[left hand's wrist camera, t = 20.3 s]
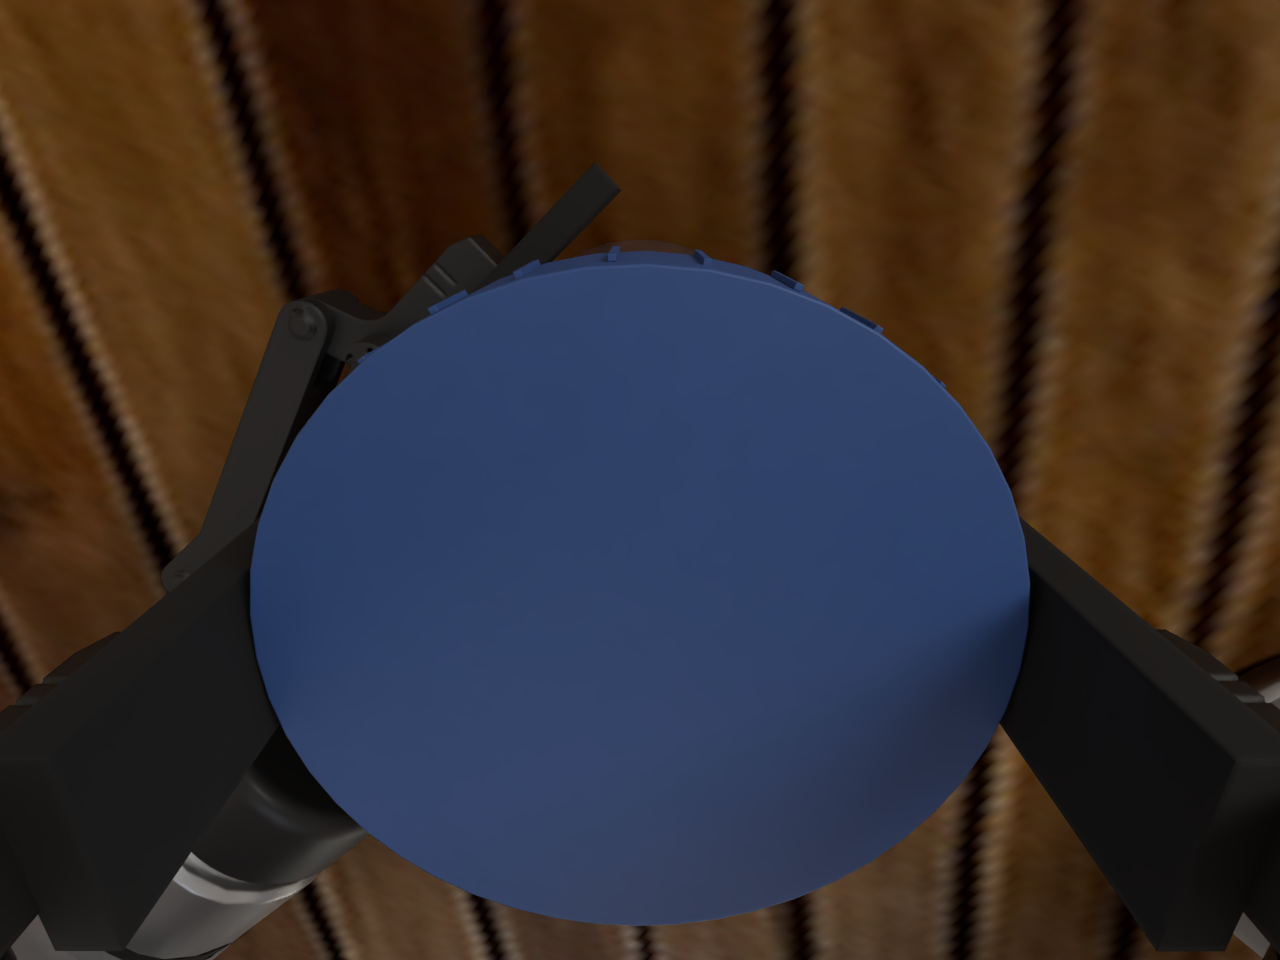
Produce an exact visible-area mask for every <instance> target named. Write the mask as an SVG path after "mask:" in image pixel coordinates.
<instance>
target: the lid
mask: <svg viewBox="0 0 1280 960" xmlns="http://www.w3.org/2000/svg"><path fill="white" fill-rule="evenodd" d="M803 287H804V285H802V284H800V283H798V282H796V281H794V280H793V279H791V278H789V277H787V276H785V275H783V274H781V273H779V272H776V271H774V270H773V271H772V273H771V276H769V275H766V274H764V273H761V272H758V271H756V270H753V269H751V268H748V267H745V266H741V265H737V264H732V263H728V262H724V261H719V260H715V259H711V258H710V257H709V256H707V255H706V254H705V253H704V252H702V251H701V250H694V255H688V254H676V253H665V252H654V251H634V252H620V247H619V246H613V247H612V248H611V250H610V251H609V253H596V254H591V255H585V256H580V257H575V258H570V259H564V260H559V261H554V262H549V263H545V264H542V265H540V262H539V260H535V261H532V262H530V263H528V264H526V265H525V266H523V267H521V268H519V269H517V270H516V271H514V272H513V275H510V276H507V277H504V278H501V279H499V280H497V281H495V282H493V283H491V284H489V285H487V286H485V287H483V288H481V289H479V290H477V291H475V292H473V293H471V294H469V295H468V294H467V292H466V291H465V290H463V291H461V292H459V293H457V294H455V295H453V296H451V297H449V298H447V299H445V300H443V301H441V302H439V303H437V304H435V305H433V306H431V307H430V308H428V311H429V312H430V314H431V315H430V316H428V317H426V318H424V319H422V320H420V321H419V322H417V323H415V324H413V325H412V326H410V327H409V328H407V329H406V330H405V331H403V332H402V333H400V334H399V335H398V336H396V337H395V338H393V339H392V340H390V341H389V342H387V343H386V344H384V345H382V346H380V347H378V348H377V349H375V350H373V351H371V352H369V353H368V354H366V355H364V356H362V357H361V358H360V359H359V360H358V363H359V365H358V366H357V367H356V368H355V369H354V370H353V371H352V372H351V373H350V374H349V375H348V376H347V377H346V378H345V379H344V380H343V381H342V382H341V383H340V384H339V385H338V386H336V387H335V388H334V389H333V390H332V391H331V392H330V393H329V394H328V395H327V397H326V398H325V399H324V401H323V402H322V403H321V405H320V406H319V407H318V409H317V410H316V411H315V412H314V414H313V415H312V416H311V418H310V419H309V420H308V421H307V423H306V424H305V426H304V427H303V428H302V430H301V431H300V432H299V433H298V435H297V436H296V438H295V440H294V442H293V444H292V446H291V447H290V449H289V451H288V453H287V455H286V457H285V459H284V461H283V462H282V464H281V466H280V468H279V470H278V472H277V474H276V476H275V477H274V479H273V482H272V485H271V488H270V491H269V494H268V497H267V500H266V503H265V505H264V508H263V511H262V514H261V517H260V520H259V523H258V527H257V533H256V539H255V545H254V551H253V557H252V563H251V569H250V620H251V626H252V633H253V640H254V646H255V653H256V659H257V662H258V665H259V669H260V672H261V675H262V678H263V682H264V685H265V688H266V691H267V695H268V698H269V700H270V702H271V704H272V707H273V709H274V711H275V713H276V715H277V717H278V719H279V721H280V724H281V726H282V728H283V730H284V732H285V734H286V736H287V738H288V739H289V741H290V742H291V744H292V746H293V747H294V749H295V750H296V752H297V753H298V755H299V756H300V758H301V759H302V761H303V763H304V764H305V766H306V767H307V769H308V770H309V772H310V773H311V774H312V775H313V776H314V778H315V779H316V780H317V781H318V782H319V784H320V785H321V786H322V787H323V788H324V789H325V791H326V792H327V793H328V794H329V795H330V797H331V798H332V799H333V800H334V801H335V802H336V803H337V804H338V805H339V806H340V807H341V808H342V809H343V810H344V811H345V812H346V813H347V814H348V815H349V816H350V817H352V818H353V819H354V820H355V821H356V822H357V823H358V824H359V825H360V826H361V827H362V828H363V829H364V830H365V831H367V832H368V833H369V834H371V835H372V836H373V837H375V838H376V839H377V840H379V841H380V842H381V843H383V844H384V845H386V846H387V847H388V848H390V849H391V850H392V851H394V852H395V853H396V854H398V855H399V856H401V857H402V858H404V859H406V860H407V861H409V862H411V863H413V864H414V865H416V866H418V867H419V868H421V869H423V870H424V871H426V872H428V873H430V874H431V875H433V876H435V877H437V878H439V879H441V880H443V881H445V882H448V883H450V884H452V885H454V886H456V887H458V888H461V889H463V890H465V891H467V892H469V893H472V894H474V895H477V896H480V897H483V898H486V899H489V900H491V901H494V902H497V903H500V904H503V905H506V906H509V907H512V908H516V909H520V910H524V911H528V912H532V913H536V914H540V915H544V916H549V917H553V918H560V919H567V920H573V921H580V922H587V923H595V924H612V925H630V926H642V925H672V924H683V923H691V922H699V921H707V920H715V919H720V918H725V917H730V916H734V915H739V914H743V913H748V912H753V911H757V910H760V909H763V908H767V907H770V906H773V905H776V904H779V903H782V902H785V901H789V900H792V899H795V898H798V897H800V896H802V895H805V894H807V893H809V892H812V891H814V890H816V889H819V888H821V887H823V886H826V885H828V884H830V883H833V882H835V881H837V880H839V879H840V878H842V877H844V876H846V875H848V874H849V873H851V872H853V871H855V870H857V869H859V868H860V867H862V866H864V865H866V864H868V863H869V862H871V861H873V860H874V859H875V858H877V857H878V856H880V855H881V854H883V853H884V852H885V851H887V850H888V849H890V848H891V847H893V846H894V845H895V844H897V843H898V842H900V841H901V840H903V839H904V838H905V837H906V836H908V835H909V834H910V833H911V832H912V831H913V830H914V829H916V828H917V827H918V826H919V825H920V824H921V823H922V822H924V821H925V820H926V819H927V818H928V817H929V816H930V815H932V814H933V813H934V812H935V811H936V810H937V809H938V808H939V807H940V806H941V804H942V803H943V802H944V801H945V800H946V799H947V798H948V797H949V796H950V795H951V793H952V792H953V791H954V790H955V789H956V788H957V787H958V786H959V785H960V783H961V782H962V781H963V780H964V779H965V777H966V776H967V774H968V773H969V771H970V770H971V769H972V767H973V766H974V764H975V763H976V761H977V760H978V759H979V757H980V756H981V754H982V753H983V751H984V750H985V749H986V747H987V746H988V744H989V742H990V740H991V738H992V736H993V734H994V732H995V730H996V728H997V726H998V724H999V722H1000V720H1001V719H1002V717H1003V715H1004V713H1005V711H1006V709H1007V706H1008V703H1009V700H1010V697H1011V695H1012V692H1013V689H1014V686H1015V683H1016V680H1017V677H1018V675H1019V672H1020V669H1021V663H1022V658H1023V653H1024V648H1025V643H1026V637H1027V632H1028V627H1029V599H1030V579H1029V570H1028V562H1027V554H1026V546H1025V538H1024V534H1023V531H1022V527H1021V524H1020V521H1019V517H1018V514H1017V510H1016V507H1015V504H1014V500H1013V497H1012V493H1011V491H1010V489H1009V486H1008V484H1007V482H1006V480H1005V478H1004V476H1003V474H1002V472H1001V470H1000V468H999V466H998V464H997V461H996V459H995V457H994V455H993V453H992V451H991V449H990V447H989V446H988V444H987V443H986V441H985V440H984V438H983V437H982V436H981V434H980V433H979V431H978V430H977V428H976V427H975V425H974V424H973V423H972V421H971V420H970V418H969V417H968V415H967V414H966V413H965V411H964V410H963V408H962V407H961V405H960V404H959V403H958V402H957V401H956V400H955V399H954V398H953V397H952V396H951V395H950V394H949V393H948V392H947V391H946V390H945V389H944V388H946V386H945V385H944V383H943V382H942V381H940V380H938V379H937V378H935V377H933V376H932V375H931V374H930V373H929V372H928V371H927V370H926V369H925V368H924V367H923V366H922V365H921V364H919V363H918V362H917V361H915V360H914V359H913V358H912V357H910V356H909V355H908V354H906V353H905V352H904V351H902V350H901V349H900V348H899V347H897V346H896V345H895V344H893V343H892V342H891V341H889V340H888V339H887V338H885V337H884V336H883V335H882V334H880V333H881V332H882V331H883V328H881V327H880V326H878V325H877V324H875V323H873V322H871V321H869V320H867V319H865V318H863V317H861V316H859V315H857V314H855V313H853V312H851V311H850V310H848V309H846V308H844V307H842V308H841V309H840V310H838V309H836V308H834V307H832V306H830V305H829V304H827V303H825V302H823V301H821V300H820V299H818V298H816V297H814V296H812V295H810V294H809V293H807V292H805V291H803V290H802V289H803Z"/></svg>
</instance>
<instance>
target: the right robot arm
mask: <svg viewBox="0 0 1280 960" xmlns="http://www.w3.org/2000/svg"><path fill="white" fill-rule="evenodd" d="M620 191H621V189H620V188H619V187H618V186H617V185H616V184H615V183H614V182H613V180H612V179H611V178H610V177H609V176H608V175H607V174H606V172H605V171H604V170H603V169H602V168H601V167H600V166H599V165H598V164H597V163H596V162H595V163H594V164H593V165H592V166H591V167H590V168H589V169H588V170H587V171H586V172H585V173H584V174H583V175H582V176H581V178H580V179H579V180H578V181H577V182H576V183H575V184H574V185H573V186H572V187H571V188H570V189H569V190H568V191H567V192H566V193H565V194H564V196H563V197H562V198H561V199H560V200H559V201H558V202H557V203H556V204H555V205H554V206H553V207H552V208H551V209H550V210H549V211H548V212H547V214H546V215H545V216H544V217H543V218H542V219H541V220H540V221H539V222H538V223H537V224H536V225H535V226H534V227H533V228H532V229H531V230H530V232H529V233H528V234H527V235H526V236H525V237H524V238H523V239H522V240H521V241H520V242H519V243H518V244H517V245H516V246H515V247H514V248H513V250H512V251H511V252H510V253H509V254H508V255H507V256H506V257H505V258H504V257H503V256H502V254H501V253H500V252H499V251H498V250H497V249H496V248H495V247H494V246H493V245H492V244H491V243H490V242H489V241H488V240H487V239H486V238H485V237H484V236H483V235H482V234H481V235H477V236H472V237H468V238H466V239H464V240H461V241H459V242H457V243H455V244H452V245H450V246H449V247H448V248H447V249H446V250H445V251H444V253H443V254H442V255H441V256H440V257H439V258H438V259H437V260H436V262H435V263H434V264H433V265H432V266H431V267H430V268H429V269H428V270H427V271H426V272H425V274H424V275H423V276H422V277H421V278H420V279H419V280H418V281H417V282H416V283H415V284H414V285H413V287H412V288H411V289H410V290H409V291H408V292H407V293H406V294H405V295H404V296H403V298H402V299H401V300H400V301H399V302H398V303H397V304H396V305H395V306H394V307H393V309H392V310H391V311H390V312H389V313H388V312H380V311H377V310H374V309H372V308H370V307H368V306H366V305H364V304H362V303H360V302H359V301H358V299H357V298H356V297H355V296H354V295H353V294H351V293H350V292H348V291H345V290H342V289H336V290H330V291H326V292H323V293H319V294H316V295H312V296H309V297H305V298H302V299H298V300H295V301H291V302H290V303H288V304H286V305H284V306H283V308H282V309H281V311H280V313H279V315H278V317H277V320H276V323H275V326H274V329H273V331H272V334H271V337H270V340H269V343H268V345H267V348H266V351H265V354H264V356H263V359H262V362H261V365H260V368H259V370H258V373H257V376H256V379H255V382H254V384H253V387H252V390H251V393H250V396H249V398H248V401H247V404H246V407H245V409H244V412H243V415H242V418H241V421H240V423H239V426H238V429H237V432H236V435H235V437H234V440H233V443H232V446H231V449H230V451H229V454H228V457H227V460H226V462H225V465H224V468H223V471H222V474H221V476H220V479H219V482H218V485H217V488H216V490H215V493H214V496H213V499H212V501H211V504H210V507H209V510H208V513H207V515H206V518H205V521H204V524H203V527H202V529H201V532H200V534H199V535H198V536H197V537H195V538H194V539H193V540H192V541H191V542H190V543H189V544H188V545H187V546H186V547H185V548H184V549H183V550H182V551H181V552H180V553H179V554H178V555H177V556H176V557H175V558H174V559H173V560H172V561H171V562H170V563H169V564H168V565H167V566H166V567H165V568H164V570H163V571H162V573H161V581H162V583H163V585H164V587H165V588H166V589H167V591H168V592H171V591H172V590H173V589H174V588H175V587H177V586H178V585H179V584H180V583H181V582H183V581H184V580H185V579H186V578H187V577H189V576H190V575H191V574H192V573H193V572H195V571H196V570H197V569H198V568H199V567H201V566H202V565H203V564H204V563H205V562H207V561H208V560H209V559H210V558H211V557H213V556H214V555H215V554H216V553H218V552H219V551H220V550H221V549H222V548H224V547H225V546H226V545H227V544H228V543H230V542H231V541H232V540H233V539H234V538H236V537H237V536H238V535H239V534H240V533H242V532H243V531H244V530H245V529H246V528H248V527H249V526H250V525H251V524H252V523H254V522H255V521H256V520H257V519H258V518H260V517H261V514H262V511H263V508H264V505H265V503H266V500H267V497H268V494H269V491H270V488H271V485H272V482H273V479H274V477H275V476H276V474H277V472H278V470H279V468H280V466H281V464H282V462H283V461H284V459H285V457H286V455H287V453H288V451H289V449H290V447H291V446H292V444H293V442H294V440H295V438H296V436H297V435H298V433H299V432H300V431H301V430H302V428H303V427H304V426H305V424H306V423H307V421H308V420H309V419H310V418H311V416H312V415H313V414H314V412H315V411H316V410H317V409H318V407H319V406H320V405H321V403H322V402H323V401H324V399H325V398H326V397H327V395H328V394H329V393H330V392H331V391H332V390H333V389H334V388H335V387H336V385H337V382H338V380H339V377H340V375H341V372H342V370H343V367H344V365H345V362H346V363H348V364H350V365H351V368H350V373H351V372H352V371H353V370H354V369H355V368H356V367H357V366H358V365H359V363H358V360H359V359H360V358H361V357H362V356H364V355H366V354H368V353H369V352H371V351H373V350H375V349H377V348H378V347H380V346H382V345H384V344H386V343H387V342H389V341H390V340H392V339H393V338H395V337H396V336H398V335H399V334H400V333H402V332H403V331H405V330H406V329H407V328H409V327H410V326H412V325H413V324H415V323H417V322H419V321H420V320H422V319H424V318H426V317H428V316H430V315H431V314H430V312H429V311H428V308H430V307H431V306H433V305H435V304H437V303H439V302H441V301H443V300H445V299H447V298H449V297H451V296H453V295H455V294H457V293H459V292H461V291H463V290H465V291H466V292H467V294H468V295H469V294H471V293H473V292H475V291H477V290H479V289H481V288H483V287H485V286H487V285H489V284H491V283H493V282H495V281H497V280H499V279H501V278H504V277H507V276H510V275H513V272H514V271H516V270H517V269H519V268H521V267H523V266H525V265H526V264H528V263H530V262H532V261H535V260H539V262H540V265H542V264H545V263H549V262H552V261H553V260H554V259H555V258H556V257H557V256H558V255H559V254H560V253H561V252H562V251H563V250H564V249H565V248H566V247H567V246H568V245H569V244H570V243H571V242H572V241H573V240H574V238H575V237H576V236H577V235H578V234H579V233H580V232H581V231H582V230H583V229H584V228H585V227H586V226H587V225H588V224H589V223H590V222H591V221H592V220H593V219H594V218H595V217H596V216H597V215H598V214H599V213H600V212H601V211H602V210H603V209H604V208H605V207H606V206H607V204H608V203H609V202H610V201H611V200H612V199H613V198H614V197H615V196H616V195H617V194H618V193H619V192H620ZM368 835H369V833H368V832H367V831H365V830H364V829H363V828H362V827H361V826H360V825H359V824H358V823H357V822H356V821H355V820H354V819H353V818H352V817H350V816H349V815H348V814H347V813H346V812H345V811H344V810H343V809H342V808H341V807H340V806H339V805H338V804H337V803H336V802H335V801H334V800H333V799H332V798H331V797H330V795H329V794H328V793H327V792H326V791H325V789H324V788H323V787H322V786H321V785H320V784H319V782H318V781H317V780H316V779H315V778H314V776H313V775H312V774H311V773H310V772H309V770H308V769H307V767H306V766H305V764H304V763H303V761H302V759H301V758H300V756H299V755H298V753H297V752H296V750H295V749H294V747H293V746H292V744H291V742H290V741H289V739H288V738H287V736H286V734H285V732H284V730H283V728H282V726H281V724H279V726H278V727H277V729H276V730H275V732H274V733H273V735H272V736H271V737H270V739H269V740H268V742H267V743H266V745H265V746H264V748H263V749H262V751H261V752H260V753H259V755H258V756H257V758H256V759H255V761H254V762H253V764H252V765H251V766H250V768H249V769H248V771H247V772H246V774H245V775H244V777H243V778H242V780H241V781H240V782H239V784H238V785H237V787H236V788H235V790H234V791H233V793H232V794H231V795H230V797H229V798H228V800H227V801H226V803H225V804H224V806H223V807H222V809H221V810H220V811H219V813H218V814H217V816H216V817H215V819H214V820H213V822H212V823H211V824H210V826H209V827H208V829H207V830H206V832H205V833H204V835H203V836H202V838H201V839H200V840H199V842H198V843H197V845H196V846H195V848H194V849H193V851H192V852H191V853H190V855H189V856H188V858H187V859H186V861H185V862H184V864H183V865H182V867H181V868H180V869H179V871H178V872H177V874H176V875H175V877H174V878H173V880H172V881H171V882H170V884H169V885H168V887H167V888H166V890H165V891H164V893H163V894H162V896H161V897H160V898H159V900H158V901H157V903H156V904H155V906H154V907H153V909H152V910H151V911H150V913H149V914H148V916H147V917H146V919H145V920H144V922H143V923H142V925H141V926H140V927H139V929H138V930H137V932H136V933H135V935H134V936H133V938H132V939H131V941H130V942H129V943H128V945H127V946H126V948H125V949H124V951H55V950H54V947H53V945H52V943H51V941H50V939H49V937H48V935H47V933H46V930H45V928H44V926H43V924H42V922H41V920H40V918H39V916H38V915H37V916H36V918H35V919H34V920H33V921H32V922H31V923H30V925H29V926H28V927H27V928H26V929H25V931H24V932H23V933H22V934H21V935H20V936H19V938H18V939H17V940H16V941H15V942H14V944H13V945H12V946H11V947H12V949H13V951H14V953H15V955H16V957H17V960H213V959H214V958H216V957H217V956H218V955H219V954H220V953H221V952H223V951H224V950H225V949H226V948H227V947H229V946H230V945H231V944H232V943H233V942H235V941H236V940H237V939H238V938H240V937H241V936H242V935H244V934H245V933H246V932H247V931H249V930H250V929H251V928H252V927H254V926H255V925H256V924H257V923H258V922H259V921H261V920H262V919H263V918H265V917H266V916H267V915H269V914H270V913H271V912H273V911H274V910H275V909H277V908H278V907H279V906H281V905H282V904H283V903H284V902H286V901H287V900H288V899H290V898H291V897H292V896H294V895H295V894H296V893H298V892H299V891H300V890H302V889H303V888H304V887H306V886H307V885H308V884H309V883H311V882H312V881H313V880H314V879H315V878H316V877H317V876H318V875H319V874H320V873H321V872H322V871H323V870H324V869H326V868H327V867H329V866H331V865H332V864H333V863H334V862H336V861H337V860H338V859H339V858H341V857H342V856H343V855H344V854H346V853H347V852H348V851H349V850H351V849H352V848H353V847H354V846H356V845H357V844H358V843H359V842H360V841H362V840H363V839H364V838H365V837H367V836H368Z"/></svg>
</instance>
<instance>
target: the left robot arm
mask: <svg viewBox="0 0 1280 960" xmlns="http://www.w3.org/2000/svg"><path fill="white" fill-rule="evenodd" d="M1018 517H1019V516H1018ZM259 520H260V518H258V519H257V520H256V521H255V522H254V523H252V524H251V525H250V526H249V527H248V528H246V529H245V530H244V531H243V532H242V533H240V534H239V535H238V536H237V537H236V538H234V539H233V540H232V541H231V542H230V543H228V544H227V545H226V546H225V547H224V548H222V549H221V550H220V551H219V552H218V553H216V554H215V555H214V556H213V557H211V558H210V559H209V560H208V561H207V562H205V563H204V564H203V565H202V566H201V567H199V568H198V569H197V570H196V571H195V572H193V573H192V574H191V575H190V576H189V577H187V578H186V579H185V580H184V581H183V582H181V583H180V584H179V585H178V586H177V587H175V588H174V589H173V590H172V591H171V592H169V593H168V594H167V595H166V596H165V597H163V598H162V599H161V600H160V601H158V602H157V603H156V604H155V605H154V606H152V607H151V608H150V609H149V610H148V611H146V612H145V613H144V614H143V615H142V616H140V617H139V618H138V619H137V620H136V621H134V622H133V623H132V624H131V625H130V626H128V627H127V628H126V629H125V630H124V631H122V632H115V633H113V634H111V635H109V636H107V637H105V638H103V639H101V640H99V641H97V642H95V643H94V644H92V645H90V646H88V647H86V648H84V649H82V650H80V651H78V652H76V653H75V654H73V655H72V656H71V657H70V658H68V659H67V660H66V661H65V662H63V663H62V664H61V665H60V666H58V667H57V668H56V669H55V670H53V671H52V672H51V673H50V674H48V675H47V676H46V677H45V678H43V683H42V684H36V685H35V686H33V687H32V688H31V689H29V690H28V691H27V692H26V693H24V694H23V695H22V696H21V697H19V698H18V699H17V700H16V701H17V702H16V705H15V706H8V707H7V708H6V709H4V710H3V711H2V712H1V713H0V960H17V957H16V955H15V953H14V951H13V949H12V947H11V946H12V945H13V944H14V942H15V941H16V940H17V939H18V938H19V936H20V935H21V934H22V933H23V932H24V931H25V929H26V928H27V927H28V926H29V925H30V923H31V922H32V921H33V920H34V919H35V918H36V916H37V915H38V916H39V918H40V920H41V922H42V924H43V926H44V928H45V930H46V933H47V935H48V937H49V939H50V941H51V943H52V945H53V947H54V950H55V951H124V949H125V948H126V946H127V945H128V943H129V942H130V941H131V939H132V938H133V936H134V935H135V933H136V932H137V930H138V929H139V927H140V926H141V925H142V923H143V922H144V920H145V919H146V917H147V916H148V914H149V913H150V911H151V910H152V909H153V907H154V906H155V904H156V903H157V901H158V900H159V898H160V897H161V896H162V894H163V893H164V891H165V890H166V888H167V887H168V885H169V884H170V882H171V881H172V880H173V878H174V877H175V875H176V874H177V872H178V871H179V869H180V868H181V867H182V865H183V864H184V862H185V861H186V859H187V858H188V856H189V855H190V853H191V852H192V851H193V849H194V848H195V846H196V845H197V843H198V842H199V840H200V839H201V838H202V836H203V835H204V833H205V832H206V830H207V829H208V827H209V826H210V824H211V823H212V822H213V820H214V819H215V817H216V816H217V814H218V813H219V811H220V810H221V809H222V807H223V806H224V804H225V803H226V801H227V800H228V798H229V797H230V795H231V794H232V793H233V791H234V790H235V788H236V787H237V785H238V784H239V782H240V781H241V780H242V778H243V777H244V775H245V774H246V772H247V771H248V769H249V768H250V766H251V765H252V764H253V762H254V761H255V759H256V758H257V756H258V755H259V753H260V752H261V751H262V749H263V748H264V746H265V745H266V743H267V742H268V740H269V739H270V737H271V736H272V735H273V733H274V732H275V730H276V729H277V727H278V726H279V724H280V721H279V719H278V717H277V715H276V713H275V711H274V709H273V707H272V704H271V702H270V700H269V698H268V695H267V691H266V688H265V685H264V682H263V678H262V675H261V672H260V669H259V665H258V662H257V659H256V653H255V646H254V640H253V633H252V626H251V620H250V569H251V563H252V557H253V551H254V545H255V539H256V533H257V527H258V523H259ZM1019 521H1020V524H1021V527H1022V531H1023V534H1024V538H1025V546H1026V554H1027V562H1028V570H1029V579H1030V599H1029V627H1028V632H1027V637H1026V643H1025V648H1024V653H1023V658H1022V663H1021V669H1020V672H1019V675H1018V677H1017V680H1016V683H1015V686H1014V689H1013V692H1012V695H1011V697H1010V700H1009V703H1008V706H1007V709H1006V711H1005V713H1004V715H1003V717H1002V719H1001V720H1000V722H999V723H1000V724H1001V726H1002V727H1003V729H1004V730H1005V732H1006V733H1007V735H1008V736H1009V738H1010V739H1011V740H1012V742H1013V743H1014V745H1015V746H1016V748H1017V749H1018V751H1019V752H1020V753H1021V755H1022V756H1023V758H1024V759H1025V761H1026V762H1027V764H1028V765H1029V767H1030V768H1031V769H1032V771H1033V772H1034V774H1035V775H1036V777H1037V778H1038V780H1039V781H1040V782H1041V784H1042V785H1043V787H1044V788H1045V790H1046V791H1047V793H1048V794H1049V796H1050V797H1051V798H1052V800H1053V801H1054V803H1055V804H1056V806H1057V807H1058V809H1059V810H1060V811H1061V813H1062V814H1063V816H1064V817H1065V819H1066V820H1067V822H1068V823H1069V825H1070V826H1071V827H1072V829H1073V830H1074V832H1075V833H1076V835H1077V836H1078V838H1079V839H1080V840H1081V842H1082V843H1083V845H1084V846H1085V848H1086V849H1087V851H1088V852H1089V854H1090V855H1091V856H1092V858H1093V859H1094V861H1095V862H1096V864H1097V865H1098V867H1099V868H1100V869H1101V871H1102V872H1103V874H1104V875H1105V877H1106V878H1107V880H1108V881H1109V883H1110V884H1111V885H1112V887H1113V888H1114V890H1115V891H1116V893H1117V894H1118V896H1119V897H1120V898H1121V900H1122V901H1123V903H1124V904H1125V906H1126V907H1127V909H1128V910H1129V912H1130V913H1131V914H1132V916H1133V917H1134V919H1135V920H1136V922H1137V923H1138V925H1139V926H1140V927H1141V929H1142V930H1143V932H1144V933H1145V935H1146V936H1147V938H1148V939H1149V941H1150V942H1151V943H1152V945H1153V946H1154V948H1155V949H1156V951H1225V949H1226V947H1227V945H1228V943H1229V941H1230V939H1231V937H1232V935H1233V934H1234V935H1235V936H1236V937H1238V938H1239V939H1240V940H1241V941H1243V942H1244V943H1245V944H1246V945H1247V946H1249V947H1250V948H1251V949H1252V950H1254V951H1255V952H1256V953H1257V954H1259V955H1260V956H1261V957H1262V958H1263V959H1262V960H1280V658H1277V659H1274V660H1272V661H1269V662H1267V663H1265V664H1263V665H1260V666H1258V667H1256V668H1254V669H1252V670H1250V671H1248V672H1246V673H1244V674H1242V675H1240V676H1237V675H1236V674H1235V673H1233V672H1232V671H1231V670H1230V669H1228V668H1227V667H1226V666H1225V665H1223V664H1222V663H1221V662H1220V661H1218V660H1217V659H1216V658H1215V657H1213V656H1212V655H1211V654H1209V653H1208V652H1207V651H1205V650H1204V649H1202V648H1200V647H1198V646H1196V645H1194V644H1192V643H1190V642H1188V641H1186V640H1184V639H1182V638H1180V637H1179V636H1177V635H1175V634H1173V633H1171V632H1169V631H1167V630H1165V629H1154V628H1153V627H1152V626H1150V625H1149V624H1148V623H1147V622H1146V621H1144V620H1143V619H1142V618H1141V617H1140V616H1138V615H1137V614H1136V613H1135V612H1134V611H1132V610H1131V609H1130V608H1129V607H1128V606H1126V605H1125V604H1124V603H1123V602H1121V601H1120V600H1119V599H1118V598H1117V597H1115V596H1114V595H1113V594H1112V593H1111V592H1109V591H1108V590H1107V589H1106V588H1105V587H1103V586H1102V585H1101V584H1100V583H1099V582H1097V581H1096V580H1095V579H1094V578H1093V577H1091V576H1090V575H1089V574H1088V573H1087V572H1085V571H1084V570H1083V569H1082V568H1081V567H1079V566H1078V565H1077V564H1076V563H1075V562H1073V561H1072V560H1071V559H1070V558H1069V557H1067V556H1066V555H1065V554H1064V553H1062V552H1061V551H1060V550H1059V549H1058V548H1056V547H1055V546H1054V545H1053V544H1052V543H1050V542H1049V541H1048V540H1047V539H1046V538H1044V537H1043V536H1042V535H1041V534H1040V533H1038V532H1037V531H1036V530H1035V529H1034V528H1032V527H1031V526H1030V525H1029V524H1028V523H1026V522H1025V521H1024V520H1023V519H1022V518H1020V517H1019Z"/></svg>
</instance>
